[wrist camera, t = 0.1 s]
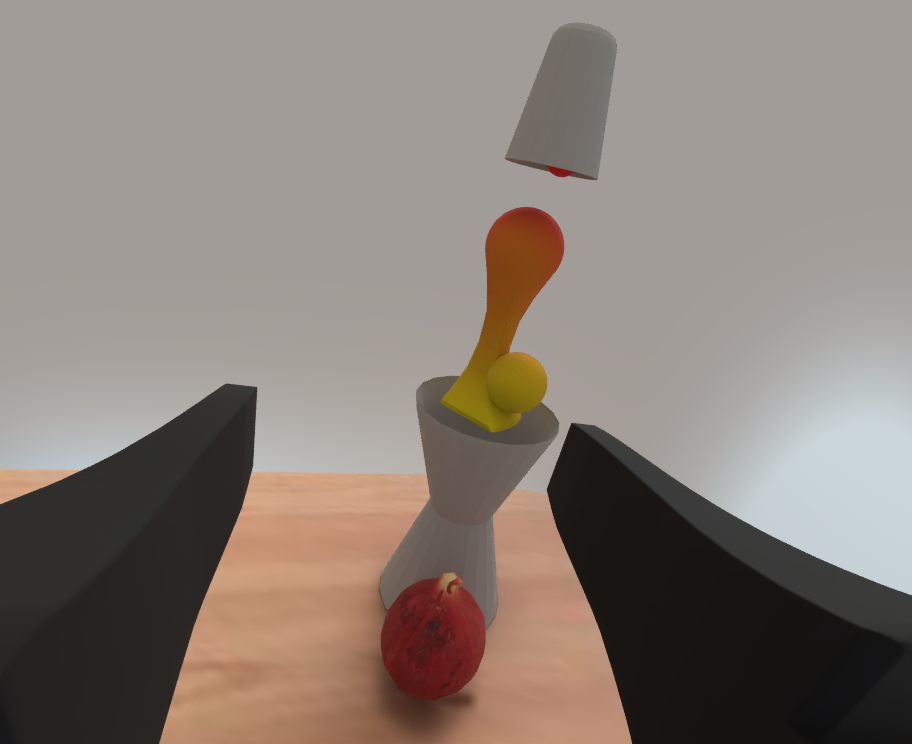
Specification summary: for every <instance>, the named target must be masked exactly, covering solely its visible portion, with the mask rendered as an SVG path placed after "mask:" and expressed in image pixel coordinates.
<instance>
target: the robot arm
mask: <svg viewBox="0 0 912 744" xmlns="http://www.w3.org/2000/svg"><path fill="white" fill-rule="evenodd" d="M256 400H257V387H252V386H243V385H234V384H225V385H223V386H222V387H220V388H219V389H217V390H216V391H214V392H213V393H212V394H210V395H208V396H207V397H206V398H204V399H203V400H201V401H200V402H199V403H197V404H195V405H194V406H192V407H191V408H189V409H188V410H187V411H185V412H184V413H182V414H181V415H179V416H178V417H176V418H175V419H173V420H171V421H170V422H168V423H167V424H165V425H164V426H162V427H161V428H159V429H157V430H156V431H154V432H152V433H150V434H149V435H147V436H145V437H144V438H142V439H140V440H138V441H137V442H135V443H133V444H131V445H130V446H128V447H126V448H125V449H123V450H121V451H120V452H118V453H116V454H114V455H112V456H110V457H108V458H106V459H104V460H102V461H100V462H98V463H96V464H94V465H92V466H90V467H88V468H86V469H84V470H81V471H79V472H77V473H75V474H73V475H71V476H69V477H67V478H64V479H62V480H60V481H58V482H55V483H53V484H51V485H48V486H46V487H43V488H41V489H38V490H36V491H33V492H30V493H28V494H25V495H23V496H20V497H18V498H15V499H13V500H10V501H8V502H5V503H3V504H0V744H159V742H160V738H161V735H162V732H163V728H164V725H165V721H166V718H167V714H168V711H169V707H170V704H171V701H172V697H173V694H174V690H175V687H176V683H177V680H178V677H179V673H180V670H181V667H182V663H183V660H184V657H185V654H186V650H187V647H188V644H189V640H190V637H191V634H192V630H193V627H194V624H195V622H196V619H197V616H198V613H199V611H200V608H201V605H202V603H203V600H204V598H205V595H206V593H207V591H208V588H209V586H210V583H211V581H212V579H213V576H214V574H215V571H216V569H217V567H218V564H219V562H220V559H221V557H222V555H223V552H224V550H225V547H226V545H227V543H228V540H229V538H230V535H231V533H232V530H233V528H234V526H235V523H236V521H237V518H238V516H239V513H240V511H241V508H242V505H243V502H244V498H245V494H246V491H247V487H248V483H249V479H250V476H251V472H252V468H253V456H254V437H255V419H256V418H255V417H256ZM547 492H548V497H549V501H550V505H551V509H552V513H553V516H554V520H555V523H556V527H557V529H558V532H559V534H560V537H561V539H562V541H563V544H564V546H565V549H566V551H567V553H568V556H569V558H570V560H571V563H572V565H573V567H574V570H575V572H576V574H577V577H578V579H579V581H580V583H581V586H582V588H583V590H584V593H585V595H586V597H587V600H588V602H589V604H590V607H591V609H592V611H593V614H594V617H595V619H596V622H597V624H598V627H599V630H600V632H601V636H602V639H603V642H604V645H605V648H606V652H607V655H608V658H609V661H610V664H611V667H612V671H613V674H614V677H615V681H616V685H617V688H618V692H619V695H620V699H621V702H622V706H623V709H624V713H625V716H626V720H627V724H628V728H629V732H630V736H631V740H632V744H912V595H909V594H906V593H903V592H901V591H897V590H895V589H892V588H889V587H887V586H884V585H881V584H879V583H876V582H874V581H871V580H869V579H866V578H864V577H861V576H859V575H856V574H854V573H851V572H849V571H846V570H844V569H842V568H839V567H837V566H835V565H832V564H830V563H828V562H825V561H823V560H821V559H819V558H816V557H814V556H812V555H810V554H808V553H805V552H803V551H801V550H799V549H797V548H795V547H793V546H791V545H789V544H787V543H785V542H782V541H780V540H778V539H776V538H774V537H772V536H770V535H768V534H766V533H765V532H763V531H761V530H759V529H757V528H755V527H753V526H751V525H750V524H748V523H746V522H744V521H742V520H740V519H738V518H737V517H735V516H733V515H732V514H730V513H728V512H726V511H725V510H723V509H721V508H720V507H718V506H716V505H715V504H713V503H711V502H710V501H708V500H707V499H705V498H703V497H702V496H700V495H698V494H697V493H695V492H694V491H692V490H691V489H689V488H688V487H686V486H685V485H683V484H682V483H680V482H679V481H677V480H675V479H674V478H673V477H671V476H670V475H668V474H667V473H665V472H664V471H662V470H661V469H660V468H658V467H657V466H655V465H654V464H652V463H651V462H650V461H648V460H647V459H645V458H644V457H642V456H641V455H639V454H638V453H637V452H635V451H634V450H632V449H631V448H629V447H628V446H627V445H625V444H624V443H622V442H621V441H619V440H618V439H616V438H615V437H613V436H612V435H610V434H609V433H607V432H605V431H604V430H602V429H600V428H598V427H596V426H594V425H585V424H576V423H571V426H570V428H569V431H568V434H567V437H566V439H565V442H564V444H563V447H562V450H561V452H560V455H559V458H558V460H557V463H556V466H555V469H554V471H553V474H552V477H551V479H550V482H549V485H548V488H547Z"/></svg>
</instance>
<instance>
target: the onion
mask: <svg viewBox="0 0 912 744" xmlns="http://www.w3.org/2000/svg"><path fill="white" fill-rule="evenodd" d="M461 585H462V580H461V578H460V577H459V576H458V575H457V574H456V573H455V572H452V573H444V574H443V576H442V577H441V578H430V579H423V580H420V581H418V582H416V583H415V584H413V585H411V586H409V587H407V588H406V589H404V590H403V591H402V592H401V593H400V595H399V596H398V597H397V599H396V600H395V601H394V603H393V604H392V605H391V607H390V608H389V610H388V612H387V615H386V618H385V621H384V625H383V629H382V633H381V650H382V655H383V660H384V665H385V667H386V669H387V671H388V673H389V674H390V676H391V677H392V679H393V680H394V682H395V683H396V685H397V686H398V688H399V689H401V690H402V691H404V692H406V693H407V694H409V695H411V696H412V697H414V698H415V699H426V700H436V699H439V698H442V697H444V696H447V695H450V694H453V693H456V692H458V691H459V690H460V689H461V688H462V687H463V686H464V685H466V684H467V683H468V682H469V681H470V680H471V679H472V677H473V676H474V675H475V673H476V672H477V670H478V667H479V665H480V662H481V659H482V657H483V654H484V649H485V644H486V642H485V620H484V616H483V613H482V611H481V609H480V607H479V606H478V604H477V602H476V601H475V599H474V597H473V596H472V595H471V593H469V592H468V591H467V590H466V589H465V588H463V587H462V586H461Z"/></svg>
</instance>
